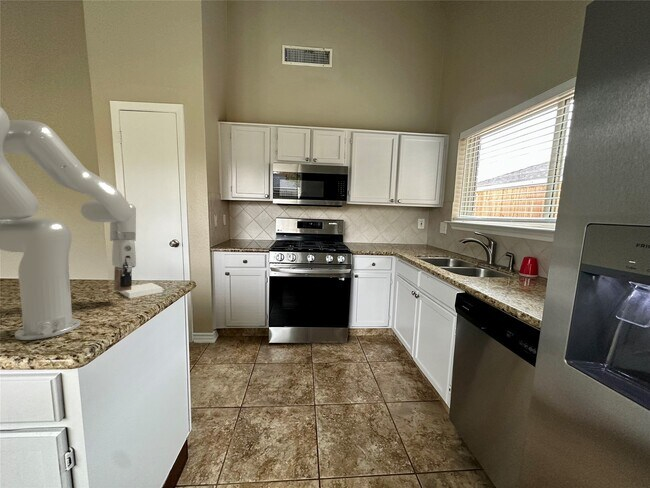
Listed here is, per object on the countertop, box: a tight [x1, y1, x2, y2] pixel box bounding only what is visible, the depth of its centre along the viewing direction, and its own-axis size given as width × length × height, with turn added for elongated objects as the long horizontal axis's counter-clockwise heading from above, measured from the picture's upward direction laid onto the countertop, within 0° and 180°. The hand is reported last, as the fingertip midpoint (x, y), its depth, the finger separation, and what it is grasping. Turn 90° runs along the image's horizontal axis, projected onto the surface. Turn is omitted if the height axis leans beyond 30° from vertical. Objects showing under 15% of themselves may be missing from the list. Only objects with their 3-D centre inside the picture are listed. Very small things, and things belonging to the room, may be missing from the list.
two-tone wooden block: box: [113, 266, 132, 292], centre depth 97 cm, size 6×4×8 cm, turn 54°
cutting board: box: [118, 282, 164, 299], centre depth 111 cm, size 12×12×2 cm
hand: (122, 284), depth 97 cm, fingers closed on two-tone wooden block, 6 cm apart
